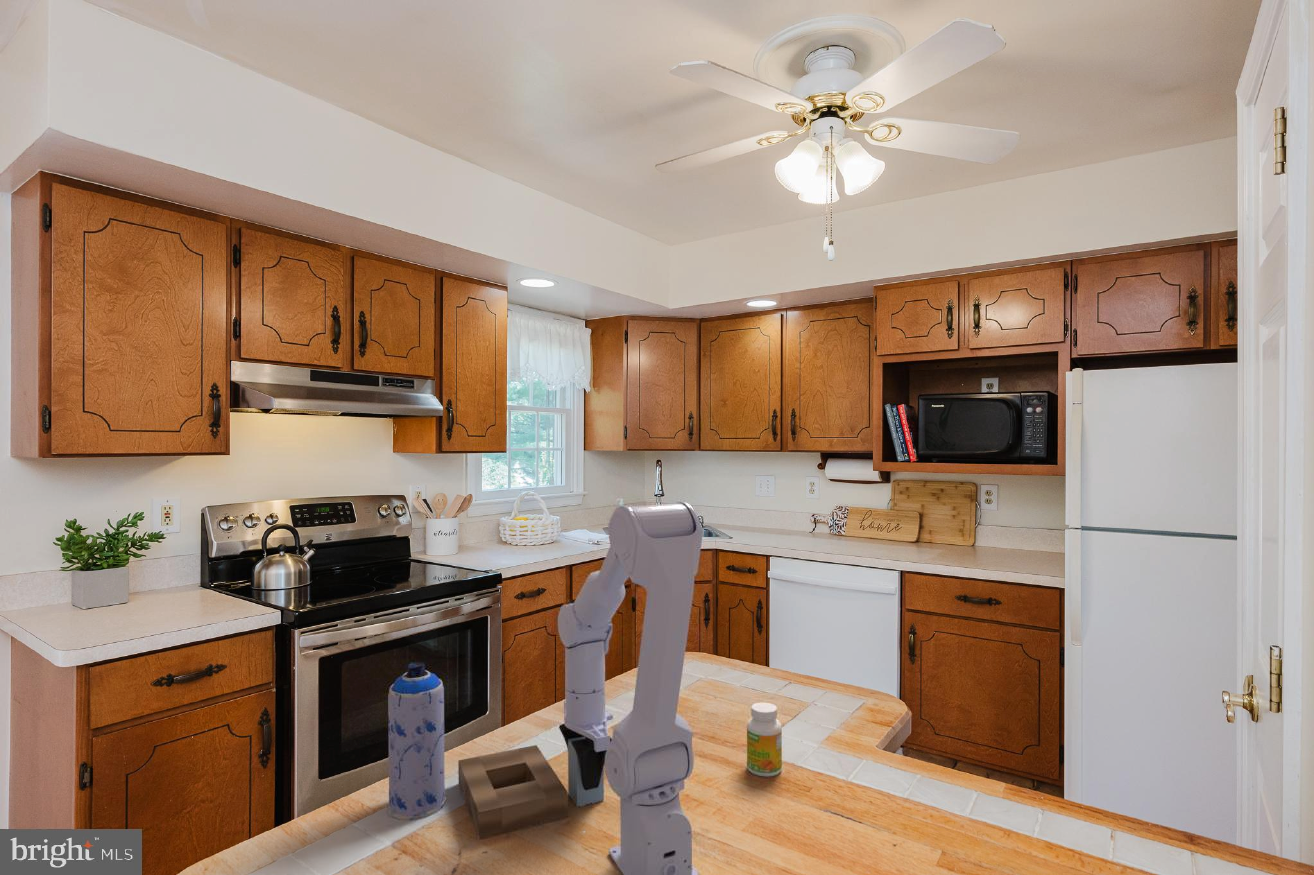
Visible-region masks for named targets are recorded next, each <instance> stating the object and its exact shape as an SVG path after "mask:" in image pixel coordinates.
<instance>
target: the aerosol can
mask: <svg viewBox="0 0 1314 875" xmlns="http://www.w3.org/2000/svg"><path fill="white" fill-rule="evenodd" d="M443 683H444V682H443V681H442V679H441V678H439V677H438V676H437V675H436V674H435V673H432V672H430V671H428V670H426V669H425V663H424V662H421V661H413V662H410V663H409V664H408V665H407V671H406V672H405V673H403V674H402V675H400V676H399V677H398V678H396V680H395V681H394V682H393V684H392V685H391V686H390V687H389V690H388V695H387V697H388V698H387V699H388V700H387V701H388V702H387V704H388V705H387V706H388V710H387V711H388V712H387V713H388V724H387V725H388V805H387V812H388V814H389V815H390V816H391V817H392V818H394V819H398V820H402V821H403V820H404V821H412V820H420V819H423V818H426V817H430V816H432V815H434V814H436V813H437V812H439V811H441V810H442V809H443V808H444V806H445V805H446V802H447V795H446V793H445V792H446V790H445V788H446V786H445V785H446V784H445V687H444V685H443Z"/></svg>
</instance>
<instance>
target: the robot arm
mask: <svg viewBox="0 0 1314 875" xmlns="http://www.w3.org/2000/svg"><path fill="white" fill-rule="evenodd" d="M607 526H608V529H607V531H608V539H609V540H608V541H609V544H610V545H609V548H608V550H607V553H606V555H605V558H604V560H603V563H602V566H601V568H600V570H596V571H593V572H590V573H589V575H588V576H587V578H586V580H585V581H584V584H583V585H582V587H581V589H580V591H579V593H578V594H577V596H576V598H575V600H574V602H572V603H568V604H563V605H562V606H560V609H559V612H558V616H557V629H558V634H559V637H560V638H559V639H560V641H561V642H562V644H563V645H564V658H565V659H564V661H565V662H564V666H565V668H564V670H565V671H564V673H565V674H564V680H565V682H564V685H565V688H564V691H565V693H564V695H565V697H564V699H565V700H564V701H563V715H564V718H563V719H564V720H563V723H561V724H560V725H559V726H558V729H559V730H560V733H561V735H562V737H563V739H564V741H565V744H566V747H567V748H566V749H567V750H568V739H572V738H577V737H583V736H585V739H580V740H575V741H572V745H573V747H574V749H575V751H576V754H577V757H578V760H579V765H580V772H581V780H582V784H583V788H584V789H585V790H590V789H594V788H598V787H599V783H600V779H601V775H602V770H603V767H604V771H605V775H606V776H605V777H606V779H607V782H608V784H609V787H610V788H611V790H612V791H613V792H614V793H615V794H616V795H617V796H618V797H619V798H620V799H619V800H620V802H619V803H620V805H619V809H620V812H619V813H620V816H619V817H620V819H619V820H620V827H619V828H620V829H619V830H620V845H616V846H613V847H609V850H608V854H609V855H610V857H611V858H612V859H613V861H614V863H615V864H616V866H617V867H618V869H619V870H620V871H621V874H622V875H699V874H700V873H699V871H698V869H696V868H695V866H693V845H692V844H693V839H692V838H693V834H692V833H693V832H692V831H693V830H692V825H691V822H690V820H689V818H688V817H687V816H686V814H685V813H684V811H683V808H682V806H681V801H680V792H681V791H682V790H685V780H687V779H689V778H690V777H691V775H692V773H693V769H694V764H695V756H694V749H693V736H694V732H693V731H692V728H691V727H690V725H689V723H688V722H687V720H686V719H685V718H684V717H682V716H681V715H680V713H677V711H678V704H679V700H680V699H679V698H680V691H681V690H680V689H681V685H682V683H681V682H682V678H683V677H682V676H683V669H684V662H685V657H686V656H685V654H686V650H687V642H688V633H689V627H690V620H691V619H690V618H691V614H692V613H691V612H692V605H693V597H694V589H695V577H696V575H697V574H698V572H699V563H700V556H701V550H702V549H701V548H702V542H703V536H704V535H703V534H704V529H703V527H702V524H701V522H700V520H699V517H698V515H697V513H696V511H695V510H694V508H693V507H692V506H691V504H689V503H688V502H686V501H678V502H676V503H675V502H674V503H662V504H661V503H660V504H647V505H633V506H628V505H620V506H618V507H616V508H615V509H614V511H613V513H612V515H611V517H610V519H609V523H608V525H607ZM628 579H630V580H631V582H632V583H634V584H636V585H638V586H640V587H643V588H645V591H646V601H645V606H644V616H643V624H642V630H641V632H642V633H641V640H640V648H639V656H638V664H637V672H636V680H635V687H634V695H633V703H632V705H633V706H632V710H630V712H629V713H628V714H627V715H626V716H625V717H623V718H622V720H621V721H620V722H619V723H618V724H617V725H615V726H614V728H613V730H612V736H611V735H610V733H609V732H608V721H612V720H613V718H614V714H613V713H612V712H611V710H607V709H606V655H607V654H608V653H609V649H610V648H609V646H610V645H609V643H610V639H611V637H612V634H613V626H614V625H613V623H612V618H613V617H614V615H615V614H616V612H617V611H618V609H619V607H620V606H621V605H622V603H623V600H624V599H625V596H626V588H625V582H627V580H628Z"/></svg>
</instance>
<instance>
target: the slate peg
mask: <svg viewBox="0 0 1314 875" xmlns="http://www.w3.org/2000/svg"><path fill="white" fill-rule="evenodd" d="M580 739H585V736H583V737H577V738H572V739H568V749H567V776H568V777H567V781H568V782H567V783H568V784H567V788H568V790H567V792H568V796H569V795H570V796H569V797H570V799H571V798H572V799H571V800H572V802H573V801H574V802H573V803H574V804H576V805H575V806H576V808H579V807H578V806H580V807H584V806H587V805H586V804H588V805H591V804H590V803H592V804H596V802H597V803H600V802H599V801H601V802H604V801H605V794H604V790H605V789H604V788H605V785H604V781H605V780H604V775H605V774H604V771H605V766H604V767H603V770H602V775H601V779H600V783H599V787H598V788H594V789H590V790H585V789H584V788H583V784H582V780H581V772H580V765H579V760H578V757H577V754H576V751H575V749H574V747H573V745H572V741H575V740H580ZM603 800H604V801H603Z"/></svg>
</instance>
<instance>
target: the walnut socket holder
mask: <svg viewBox="0 0 1314 875" xmlns="http://www.w3.org/2000/svg"><path fill="white" fill-rule="evenodd" d="M457 764H458V767H457V768H458V774H457V775H458V785H459V788H460V791H461V793H462V796H463V800H464V802H465V805H466V808H467V810H468V813H469V815H470V818H471V821H472V823H473V826H474V829H475V832H476V835H477V837H478V840H483V839H487V838H491V837H494V836H498V835H502V834H507V833H511V832H515V831H519V830H522V829H527V828H530V827H535V826H539V825H543V824H547V823H551V822H554V821H559V820H563V819H567V818H569V814H568V813H569V807H568V806H569V805H568V804H569V800H568V799H569V798H568V796H569V794H568V790H567V789H566V787H565V786H564V784H563V783H562V781H561V779H560V778H559V777H558V775H557V774H556V772H555V771H554V769H553V767H552V766H551V765H550V763H549V762H548V759H547V758H546V757H545V756H544V754H543V752H542V751H541V750H540V748H539V747H538V745H537V744H534V745H529V746H523V747H520V748H515V749H510V750H504V751H499V752H495V753H489V754H484V755H478V756H474V757H468V758H463V759H458V761H457Z"/></svg>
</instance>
